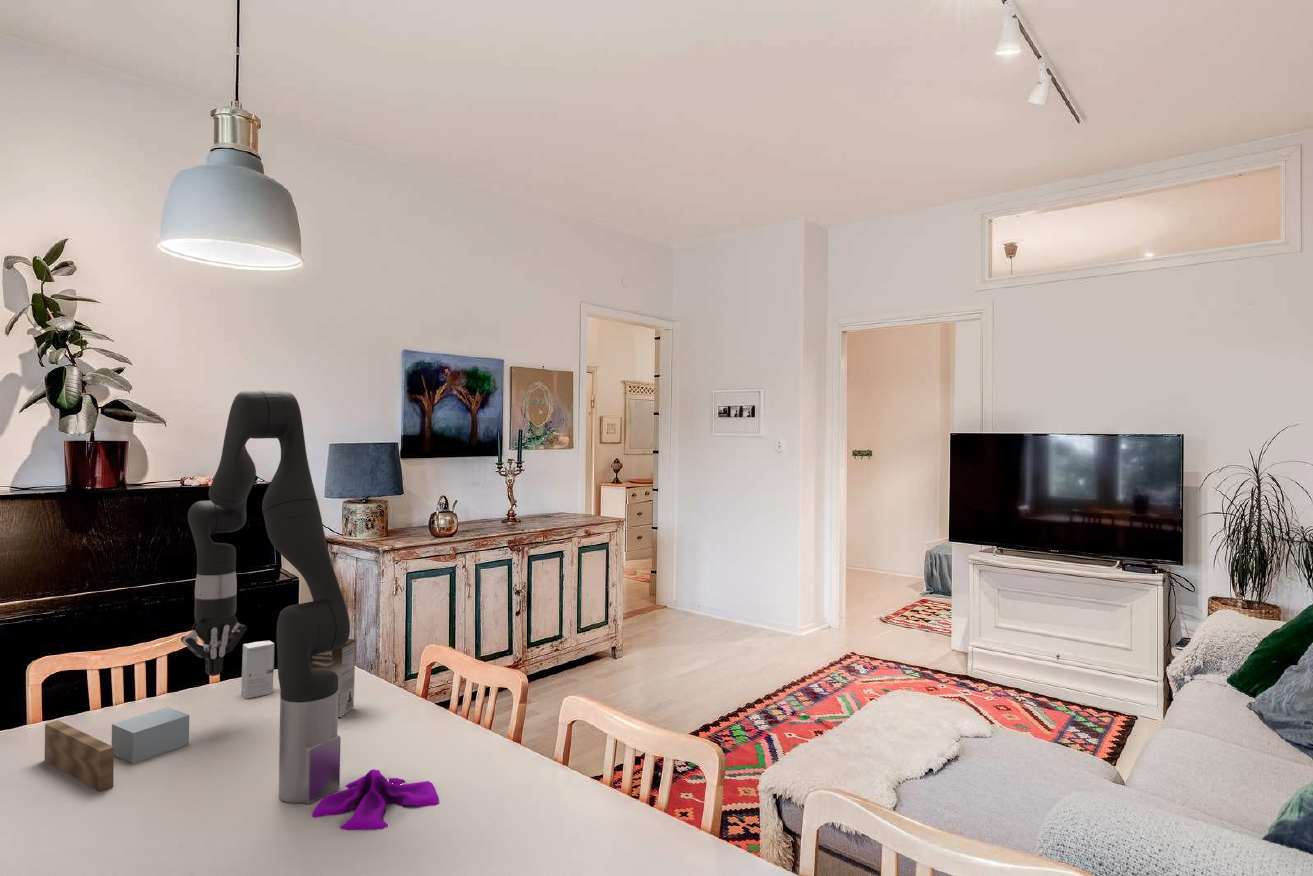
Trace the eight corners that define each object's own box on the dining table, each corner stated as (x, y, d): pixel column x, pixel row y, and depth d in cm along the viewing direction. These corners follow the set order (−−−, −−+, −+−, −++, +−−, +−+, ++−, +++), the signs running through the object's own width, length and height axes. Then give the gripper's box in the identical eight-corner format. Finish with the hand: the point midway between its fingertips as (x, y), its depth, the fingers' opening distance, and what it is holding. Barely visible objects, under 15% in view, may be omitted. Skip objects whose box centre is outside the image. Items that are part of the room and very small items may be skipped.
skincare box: (245, 699, 165) (246, 648, 165) (240, 694, 169) (241, 644, 169) (274, 693, 170) (275, 643, 170) (268, 688, 173) (269, 639, 173)
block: (188, 744, 142) (189, 715, 142) (132, 764, 133) (133, 733, 133) (167, 736, 146) (167, 707, 146) (111, 754, 137) (111, 724, 137)
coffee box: (301, 716, 156) (302, 644, 156) (317, 705, 163) (318, 636, 163) (340, 719, 155) (341, 646, 155) (355, 708, 162) (356, 638, 162)
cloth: (459, 794, 125) (459, 760, 125) (373, 848, 109) (374, 808, 109) (371, 765, 135) (372, 733, 135) (281, 810, 119) (282, 774, 119)
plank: (113, 786, 124) (113, 747, 124) (99, 791, 123) (100, 751, 123) (57, 756, 135) (58, 720, 135) (44, 760, 134) (45, 723, 134)
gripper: (192, 602, 142) (190, 687, 142) (257, 590, 154) (255, 669, 154) (172, 597, 146) (170, 680, 146) (237, 585, 157) (235, 663, 158)
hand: (214, 674), depth 150 cm, fingers closed
